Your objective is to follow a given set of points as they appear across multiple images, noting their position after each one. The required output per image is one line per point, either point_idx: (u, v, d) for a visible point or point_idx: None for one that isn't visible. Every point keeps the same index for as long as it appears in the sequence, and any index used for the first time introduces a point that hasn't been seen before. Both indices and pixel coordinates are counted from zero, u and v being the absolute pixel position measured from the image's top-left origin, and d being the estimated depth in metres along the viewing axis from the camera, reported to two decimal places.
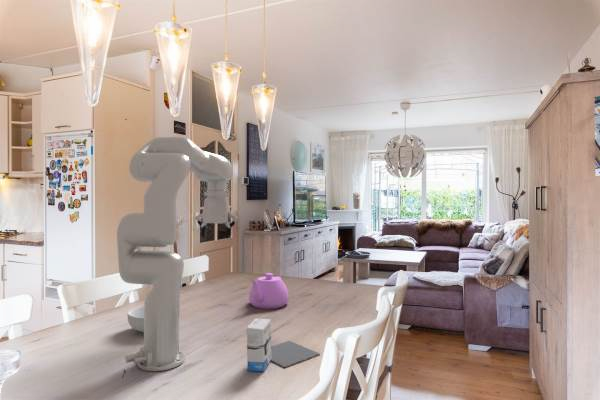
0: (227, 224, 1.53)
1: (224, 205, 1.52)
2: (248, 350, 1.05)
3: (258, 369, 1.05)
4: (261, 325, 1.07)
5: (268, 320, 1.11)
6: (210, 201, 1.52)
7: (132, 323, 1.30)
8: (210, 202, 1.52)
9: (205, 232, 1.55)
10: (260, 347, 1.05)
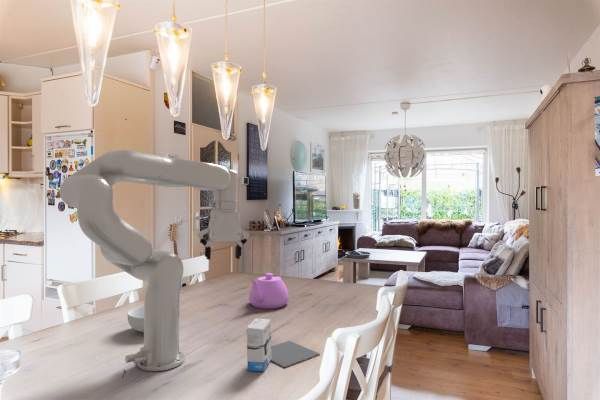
0: (239, 242, 1.28)
1: (238, 219, 1.27)
2: (248, 350, 1.05)
3: (258, 369, 1.05)
4: (261, 325, 1.07)
5: (268, 320, 1.11)
6: (221, 215, 1.24)
7: (132, 323, 1.30)
8: (221, 216, 1.24)
9: None
10: (260, 347, 1.05)
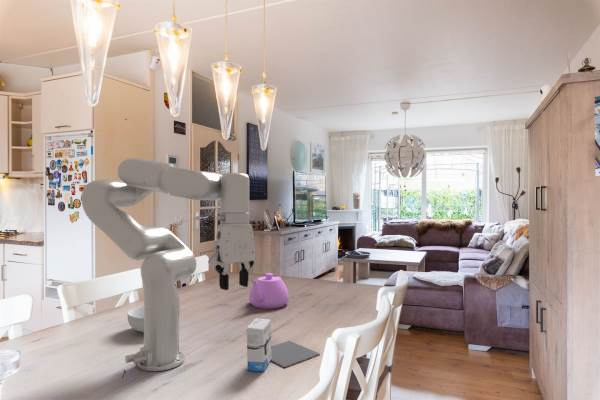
0: (247, 265, 1.04)
1: (252, 235, 1.04)
2: (248, 350, 1.05)
3: (258, 369, 1.05)
4: (261, 325, 1.07)
5: (268, 320, 1.11)
6: (234, 231, 1.00)
7: (132, 323, 1.30)
8: (234, 232, 1.00)
9: None
10: (260, 347, 1.05)
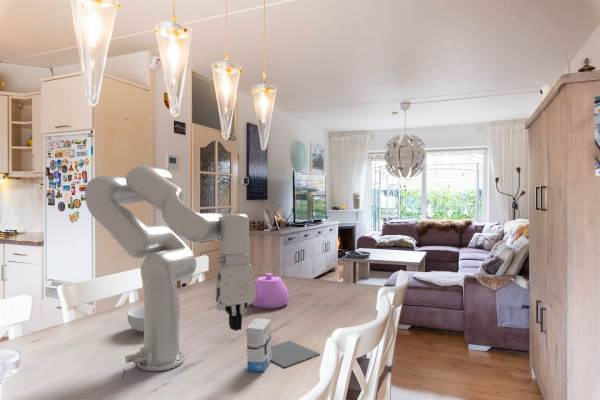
0: (242, 307, 1.03)
1: (252, 274, 1.04)
2: (248, 350, 1.05)
3: (258, 369, 1.05)
4: (261, 325, 1.07)
5: (268, 320, 1.11)
6: (235, 272, 1.00)
7: (132, 323, 1.30)
8: (235, 274, 1.00)
9: None
10: (260, 347, 1.05)
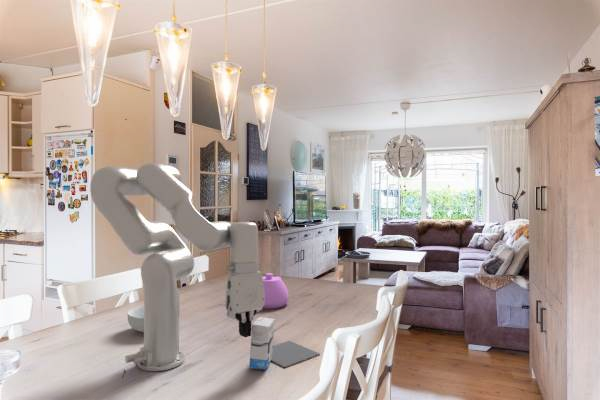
0: (252, 314, 1.05)
1: (261, 282, 1.05)
2: (252, 347, 1.05)
3: (260, 367, 1.05)
4: (267, 323, 1.08)
5: (272, 319, 1.12)
6: (244, 280, 1.01)
7: (132, 323, 1.30)
8: (244, 281, 1.01)
9: None
10: (264, 345, 1.05)
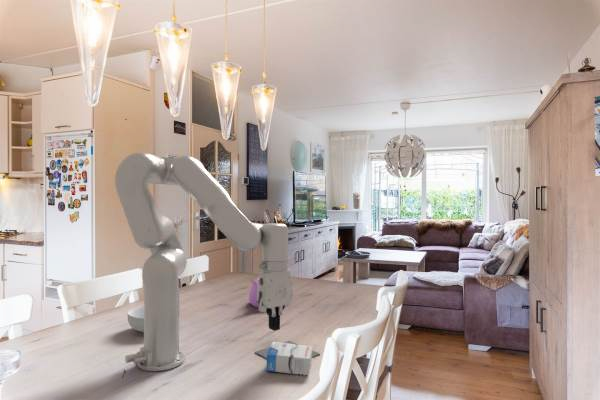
0: (281, 309, 1.12)
1: (290, 279, 1.13)
2: (287, 358, 1.03)
3: (268, 365, 1.04)
4: (309, 367, 1.05)
5: None
6: (275, 277, 1.09)
7: (132, 323, 1.30)
8: (276, 279, 1.09)
9: None
10: (290, 371, 1.03)
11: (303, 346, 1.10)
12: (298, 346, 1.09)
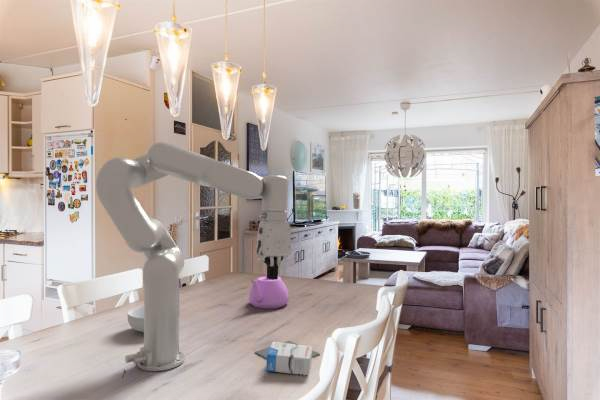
0: (279, 260, 1.15)
1: (289, 231, 1.16)
2: (287, 358, 1.03)
3: (268, 365, 1.04)
4: (309, 367, 1.05)
5: None
6: (274, 227, 1.12)
7: (132, 323, 1.30)
8: (275, 228, 1.12)
9: None
10: (290, 371, 1.03)
11: (303, 346, 1.10)
12: (298, 346, 1.09)
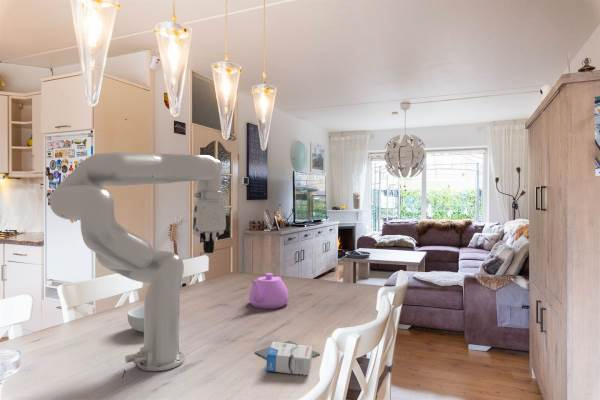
0: (214, 235, 1.27)
1: (223, 209, 1.28)
2: (287, 358, 1.03)
3: (268, 365, 1.04)
4: (309, 367, 1.05)
5: None
6: (208, 205, 1.24)
7: (132, 323, 1.30)
8: (208, 206, 1.24)
9: None
10: (290, 371, 1.03)
11: (303, 346, 1.10)
12: (298, 346, 1.09)
